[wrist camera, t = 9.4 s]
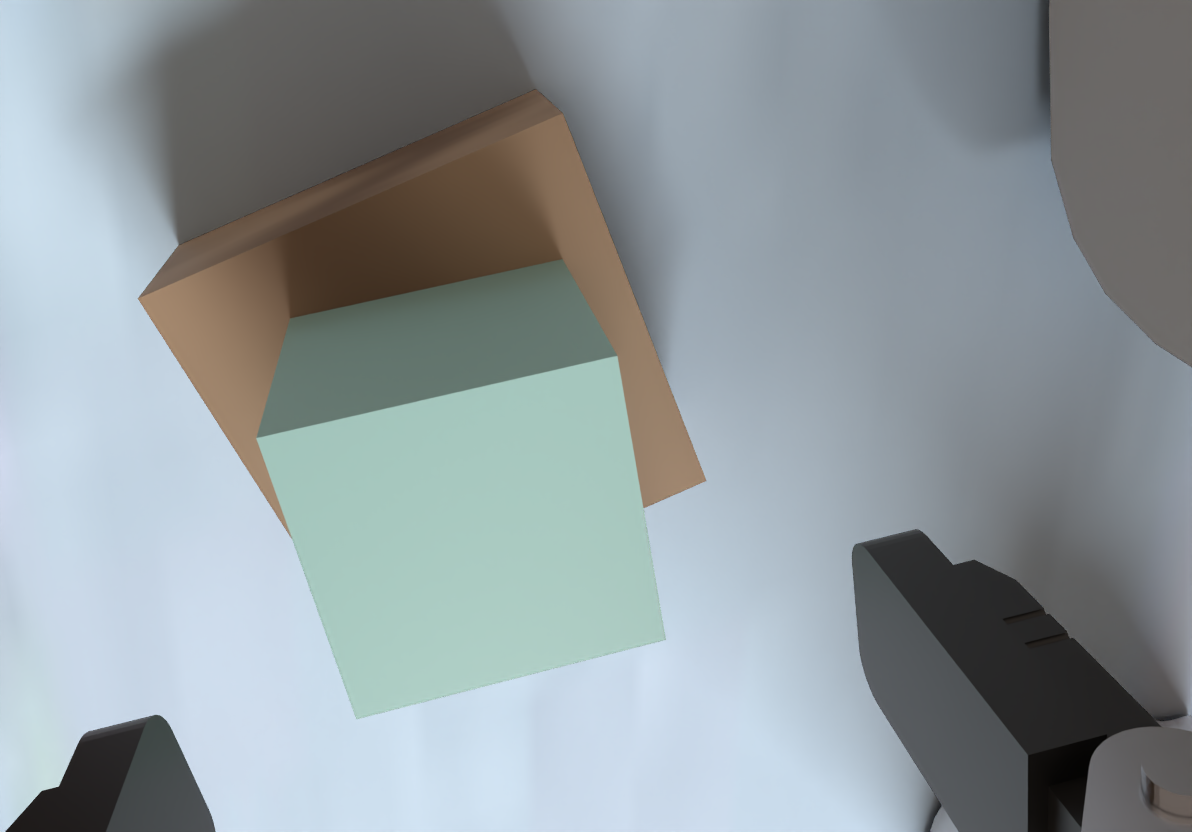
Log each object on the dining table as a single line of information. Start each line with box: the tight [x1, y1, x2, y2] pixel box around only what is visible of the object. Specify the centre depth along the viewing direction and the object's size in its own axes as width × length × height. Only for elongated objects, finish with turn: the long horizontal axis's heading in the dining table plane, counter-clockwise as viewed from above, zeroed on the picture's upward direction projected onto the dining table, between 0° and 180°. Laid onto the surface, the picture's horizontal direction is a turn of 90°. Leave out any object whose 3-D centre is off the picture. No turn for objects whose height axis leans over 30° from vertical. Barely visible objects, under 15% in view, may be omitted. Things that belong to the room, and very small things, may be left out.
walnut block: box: [138, 89, 706, 538], centre depth 21 cm, size 8×8×4 cm
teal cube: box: [256, 259, 666, 719], centre depth 17 cm, size 5×5×5 cm
